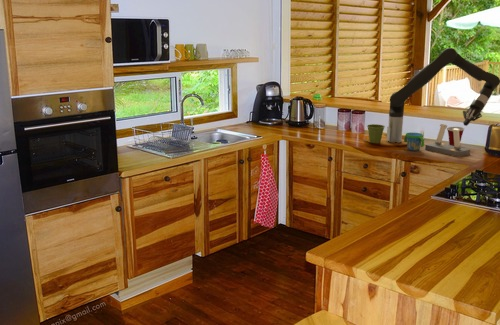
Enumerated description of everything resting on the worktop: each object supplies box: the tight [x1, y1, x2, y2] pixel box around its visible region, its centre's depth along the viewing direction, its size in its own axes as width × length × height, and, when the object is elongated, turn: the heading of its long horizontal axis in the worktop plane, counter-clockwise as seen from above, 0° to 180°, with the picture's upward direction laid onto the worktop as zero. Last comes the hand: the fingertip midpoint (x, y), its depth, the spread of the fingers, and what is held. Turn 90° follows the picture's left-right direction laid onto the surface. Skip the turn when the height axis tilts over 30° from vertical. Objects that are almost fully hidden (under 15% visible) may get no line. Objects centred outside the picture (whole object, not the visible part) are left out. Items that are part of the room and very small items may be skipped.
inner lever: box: [434, 123, 448, 145], centre depth 349 cm, size 2×4×13 cm, turn 35°
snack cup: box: [403, 132, 425, 152], centre depth 349 cm, size 16×10×10 cm
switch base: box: [424, 142, 471, 158], centre depth 344 cm, size 12×24×3 cm, turn 34°
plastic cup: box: [446, 126, 465, 146], centre depth 359 cm, size 11×11×12 cm
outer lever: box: [452, 128, 462, 149], centre depth 336 cm, size 2×4×13 cm, turn 33°
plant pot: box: [366, 123, 386, 144], centre depth 370 cm, size 12×12×11 cm
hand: (465, 124), depth 337 cm, fingers closed
